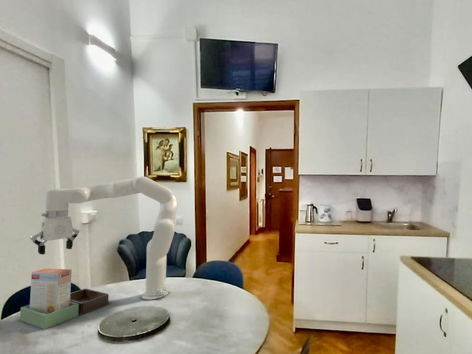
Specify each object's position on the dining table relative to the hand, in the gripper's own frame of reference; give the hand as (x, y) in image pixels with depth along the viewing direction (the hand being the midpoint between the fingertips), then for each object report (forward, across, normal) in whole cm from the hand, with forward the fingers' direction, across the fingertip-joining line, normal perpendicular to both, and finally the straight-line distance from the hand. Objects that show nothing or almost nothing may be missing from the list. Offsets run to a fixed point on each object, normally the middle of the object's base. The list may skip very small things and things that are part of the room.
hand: (56, 251), depth 116 cm
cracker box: (+29, -2, 0) cm, 29 cm away
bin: (+30, -2, 0) cm, 30 cm away
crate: (+30, +11, 0) cm, 32 cm away
